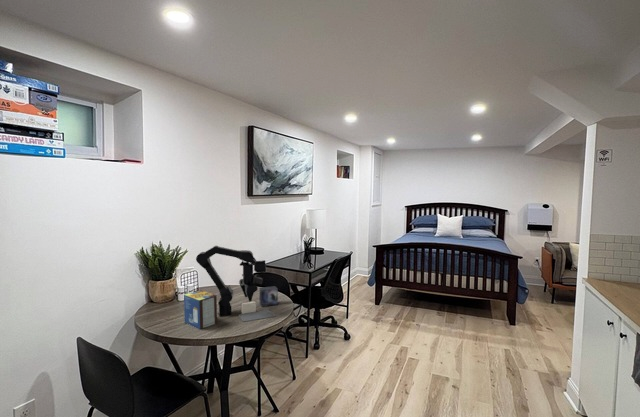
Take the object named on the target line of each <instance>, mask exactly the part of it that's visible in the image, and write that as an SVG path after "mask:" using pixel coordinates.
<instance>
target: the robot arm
mask: <svg viewBox="0 0 640 417" xmlns="http://www.w3.org/2000/svg"><path fill="white" fill-rule="evenodd" d="M217 254H218V255H222V256H228V257H231V258H236V259H237V260H238V259H239V260H241V262H240V263H239V266H240V267H242V274H241V276H242V278H240V279H239V282H238V284H239V286H240V288H241V291H242V293H243V295H244V297H245V298H247V299H248V302H253V301H252V300H253V296H254V294H255V293H256V292H257V291H259V290H258V285H262V284H263V282H264V279H263V278H262V277H261V276H260V275H258V274H255V275H254V271H255V273H266V272H267V264H266V260H264V259H263V260H257V259H256V258H255V257H254V253H253V252H252V251H251V250H249V249H248V250H241V249H240V250H239V249H238V250H237V249H232V248H227V247H222V246H218V245H214V246H212V247H211V248H209V249H208V250H206V251H202V252H200V253H198V255H197V256H196V258H195V261H196V262H197V264H198V265H199V266H200V267H202V268H203V269H204V270H205V271H206V273H207V274H208V277H210V278H211V280H212V281H213V283H214V284H215V286H216V288H217V289H218V291H219V295H220V298H219V300H218V302H217V305H218V306H217V315H218V316H219V317H227V316H231V315H232V304H231V301H232V300H233V297H234V289H232V287H231V286H230V285H227V284H225V282H224V281H223V279H222V278H221V276H220V275H219V274H218V271H216V269H215V267H214V266H213V264H212V261H211V257H213V256H214V255H217ZM256 284H258V285H256Z"/></svg>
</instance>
